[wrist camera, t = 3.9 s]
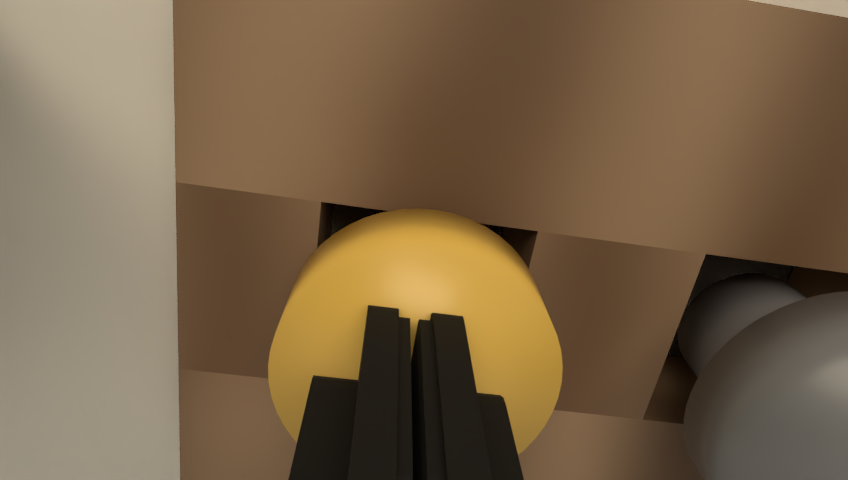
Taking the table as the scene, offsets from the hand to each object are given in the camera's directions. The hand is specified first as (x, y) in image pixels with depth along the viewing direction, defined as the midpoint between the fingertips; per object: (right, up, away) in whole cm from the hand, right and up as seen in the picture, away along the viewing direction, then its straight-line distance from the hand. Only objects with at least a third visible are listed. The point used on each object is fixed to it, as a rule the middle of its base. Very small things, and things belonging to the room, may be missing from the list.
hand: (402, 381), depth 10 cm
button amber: (0, +2, +4) cm, 5 cm away
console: (+8, +1, +6) cm, 10 cm away
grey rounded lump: (+8, 0, +4) cm, 9 cm away
